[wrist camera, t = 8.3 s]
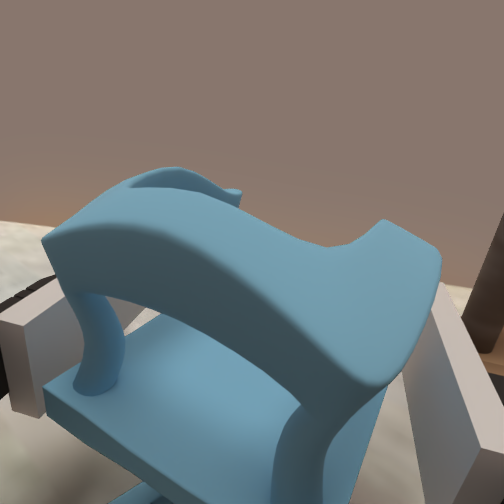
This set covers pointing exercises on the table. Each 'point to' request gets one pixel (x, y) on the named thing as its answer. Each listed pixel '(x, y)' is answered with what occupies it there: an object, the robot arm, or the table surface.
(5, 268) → the table surface
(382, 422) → the table surface
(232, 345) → the chair
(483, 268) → the wooden post frame
